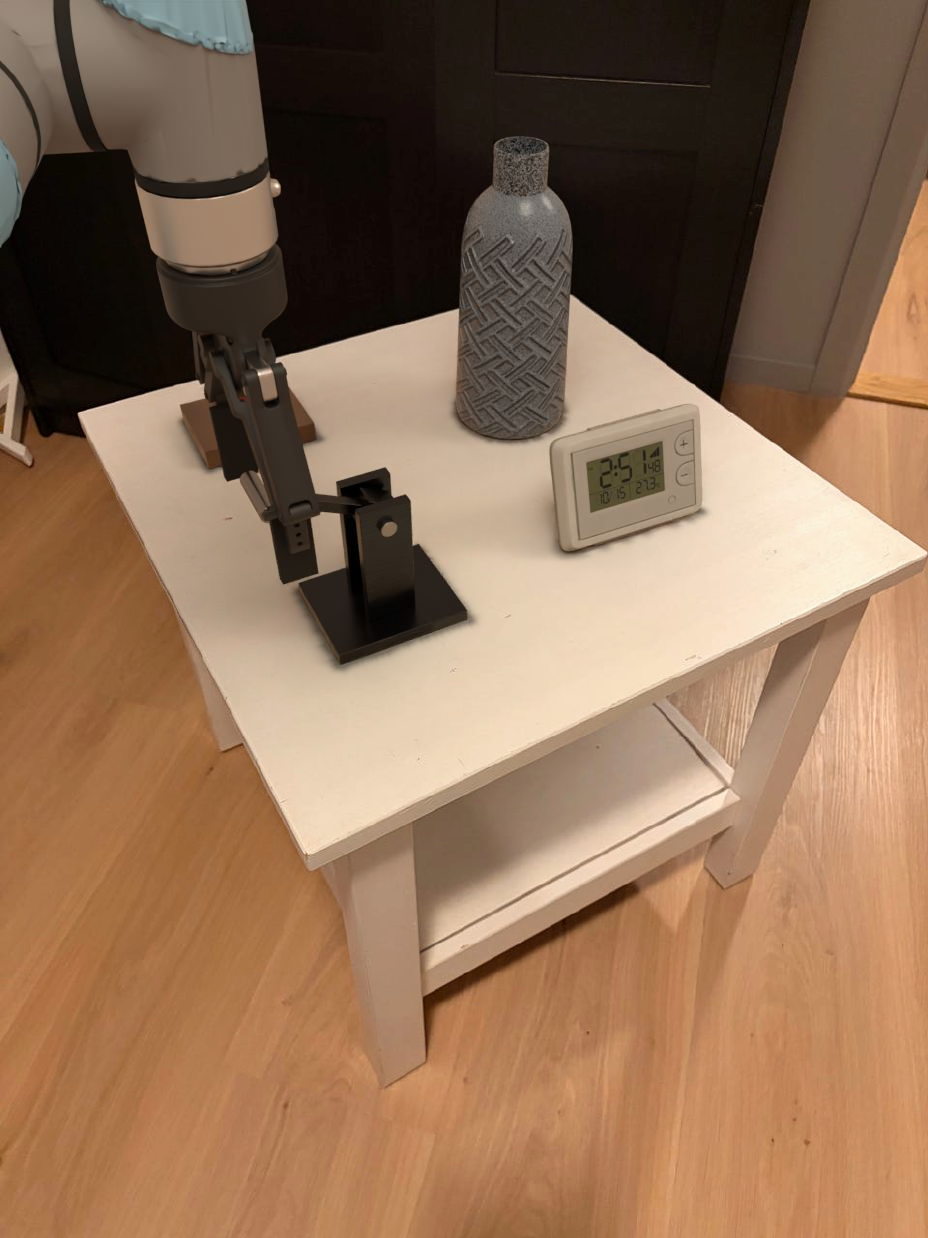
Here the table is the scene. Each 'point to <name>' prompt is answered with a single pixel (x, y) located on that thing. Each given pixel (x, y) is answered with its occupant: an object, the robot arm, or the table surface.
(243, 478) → the lever
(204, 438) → the button block
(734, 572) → the table surface
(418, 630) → the bracket
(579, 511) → the digital clock
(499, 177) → the vase
